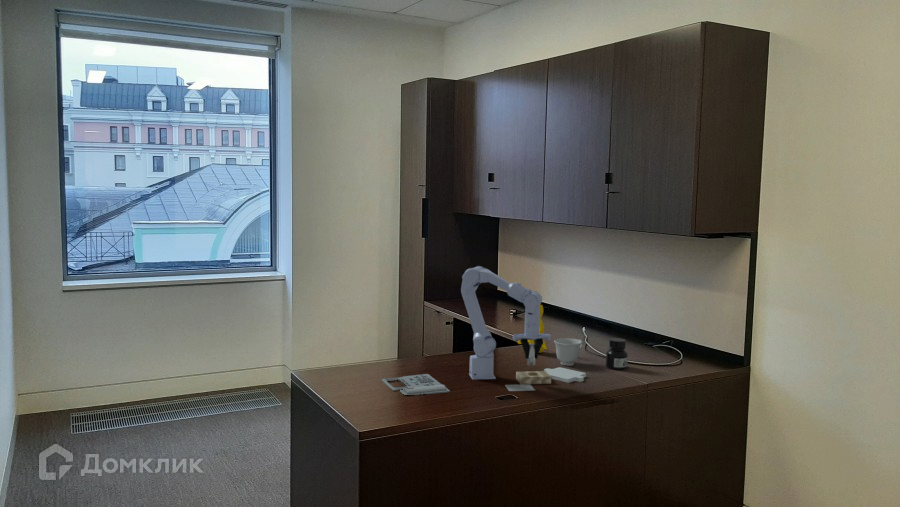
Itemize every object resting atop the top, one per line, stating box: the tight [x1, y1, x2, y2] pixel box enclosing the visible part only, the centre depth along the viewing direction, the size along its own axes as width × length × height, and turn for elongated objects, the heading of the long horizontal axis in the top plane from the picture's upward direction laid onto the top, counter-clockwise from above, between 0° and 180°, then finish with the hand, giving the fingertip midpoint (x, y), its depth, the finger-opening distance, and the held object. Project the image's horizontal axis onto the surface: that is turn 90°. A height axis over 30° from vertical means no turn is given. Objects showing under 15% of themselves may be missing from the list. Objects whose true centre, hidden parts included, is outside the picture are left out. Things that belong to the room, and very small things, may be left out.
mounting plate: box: [543, 366, 587, 384], centre depth 284 cm, size 18×13×2 cm
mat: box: [504, 384, 536, 392], centre depth 267 cm, size 10×8×1 cm
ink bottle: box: [605, 337, 629, 371], centre depth 299 cm, size 10×9×12 cm
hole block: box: [515, 370, 552, 385], centre depth 276 cm, size 12×8×3 cm, turn 98°
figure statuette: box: [517, 304, 548, 354], centre depth 323 cm, size 18×8×22 cm, turn 42°
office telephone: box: [381, 373, 451, 396], centre depth 268 cm, size 23×3×20 cm
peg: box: [526, 344, 536, 367], centre depth 272 cm, size 3×3×8 cm
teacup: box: [553, 337, 584, 366], centre depth 305 cm, size 12×15×10 cm
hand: (531, 358), depth 273 cm, fingers closed on peg, 3 cm apart
